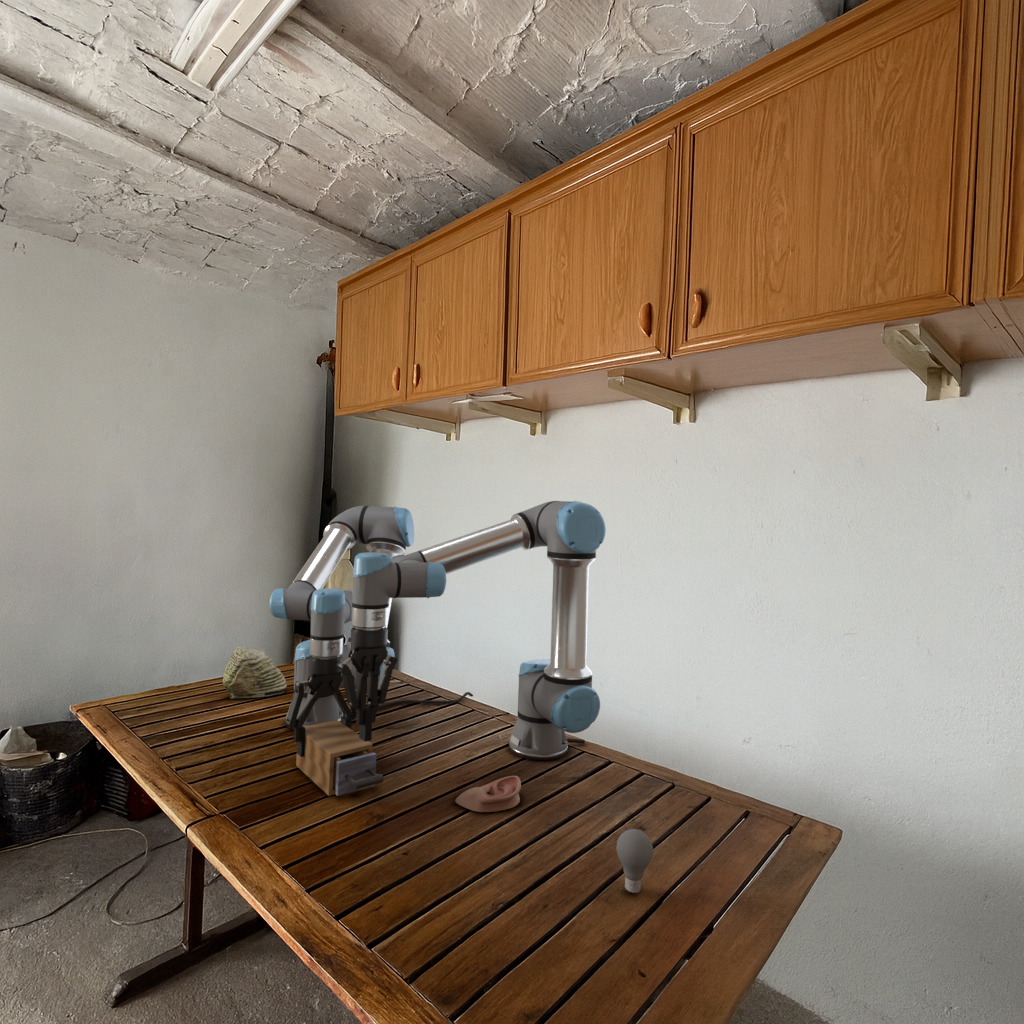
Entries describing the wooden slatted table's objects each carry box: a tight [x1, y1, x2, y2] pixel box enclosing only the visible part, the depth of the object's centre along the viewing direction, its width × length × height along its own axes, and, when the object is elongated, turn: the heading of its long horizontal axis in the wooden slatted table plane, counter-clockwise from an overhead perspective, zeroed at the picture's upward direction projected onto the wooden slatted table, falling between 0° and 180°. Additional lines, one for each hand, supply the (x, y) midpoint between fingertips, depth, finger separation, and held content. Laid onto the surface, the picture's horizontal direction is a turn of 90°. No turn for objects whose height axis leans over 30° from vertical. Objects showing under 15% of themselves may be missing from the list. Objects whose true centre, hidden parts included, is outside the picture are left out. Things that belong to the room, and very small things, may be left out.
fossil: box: [222, 646, 288, 699], centre depth 198 cm, size 9×18×15 cm, turn 132°
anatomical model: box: [454, 775, 522, 813], centre depth 135 cm, size 13×4×12 cm
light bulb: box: [615, 828, 654, 894], centre depth 106 cm, size 6×6×10 cm
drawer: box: [333, 750, 384, 797], centre depth 139 cm, size 23×9×7 cm, turn 40°
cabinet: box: [295, 720, 373, 797], centre depth 144 cm, size 18×10×9 cm, turn 40°
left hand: (322, 749), depth 149 cm, fingers closed on cabinet, 10 cm apart
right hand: (365, 738), depth 133 cm, fingers closed
